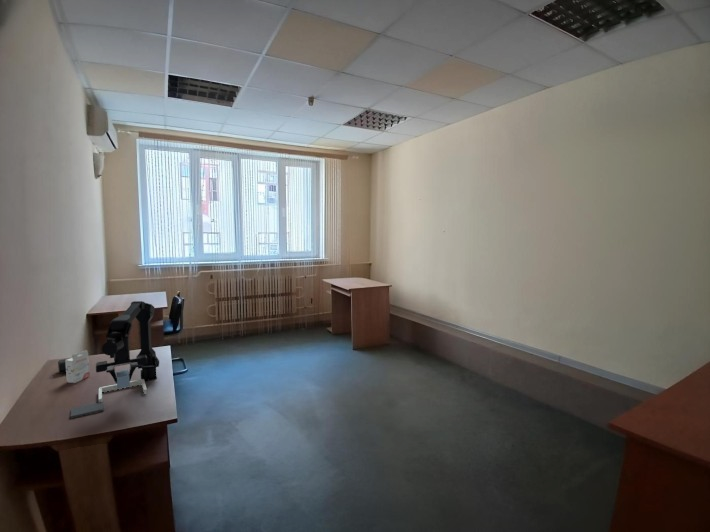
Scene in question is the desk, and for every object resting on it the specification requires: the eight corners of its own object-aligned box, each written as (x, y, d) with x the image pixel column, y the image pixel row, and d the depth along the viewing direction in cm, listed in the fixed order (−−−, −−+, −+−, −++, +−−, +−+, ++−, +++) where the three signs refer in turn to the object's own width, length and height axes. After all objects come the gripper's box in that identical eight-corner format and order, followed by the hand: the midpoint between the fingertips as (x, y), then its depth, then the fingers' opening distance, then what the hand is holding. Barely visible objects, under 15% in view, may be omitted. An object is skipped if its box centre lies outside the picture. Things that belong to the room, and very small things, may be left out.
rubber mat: (103, 403, 156) (103, 401, 156) (103, 411, 149) (103, 408, 149) (71, 410, 149) (71, 408, 149) (70, 418, 143) (70, 416, 143)
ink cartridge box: (82, 375, 185) (80, 348, 184) (90, 376, 184) (88, 349, 183) (66, 382, 177) (64, 354, 175) (74, 383, 176) (72, 354, 174)
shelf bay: (144, 383, 177) (143, 378, 177) (146, 394, 166) (146, 389, 165) (99, 392, 166) (98, 387, 166) (98, 404, 155) (98, 399, 155)
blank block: (128, 379, 160) (128, 369, 159) (129, 386, 153) (129, 375, 153) (116, 382, 157) (116, 371, 157) (117, 388, 151) (116, 377, 150)
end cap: (59, 375, 185) (58, 363, 184) (57, 371, 190) (57, 359, 189) (83, 370, 192) (82, 358, 192) (81, 367, 197) (80, 355, 196)
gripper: (144, 339, 166) (145, 371, 167) (95, 346, 155) (97, 380, 156) (146, 345, 157) (148, 379, 158) (95, 353, 146) (96, 389, 147)
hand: (123, 381), depth 155 cm, fingers closed on blank block, 4 cm apart
